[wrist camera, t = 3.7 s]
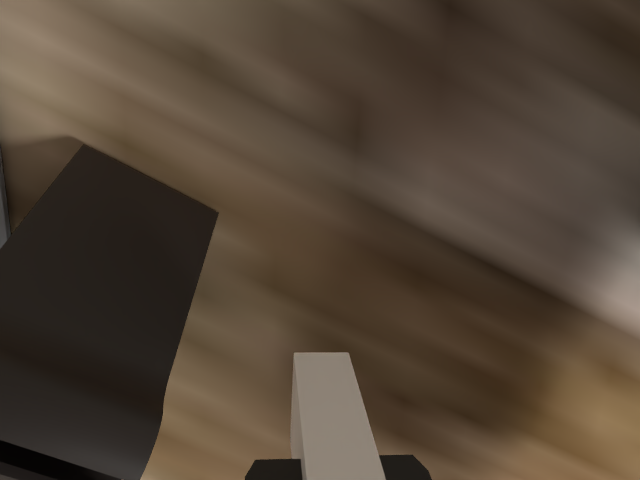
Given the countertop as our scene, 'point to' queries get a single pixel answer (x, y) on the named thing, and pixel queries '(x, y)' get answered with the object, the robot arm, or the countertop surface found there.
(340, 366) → the robot arm
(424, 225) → the countertop surface
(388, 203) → the countertop surface
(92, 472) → the phone stand
